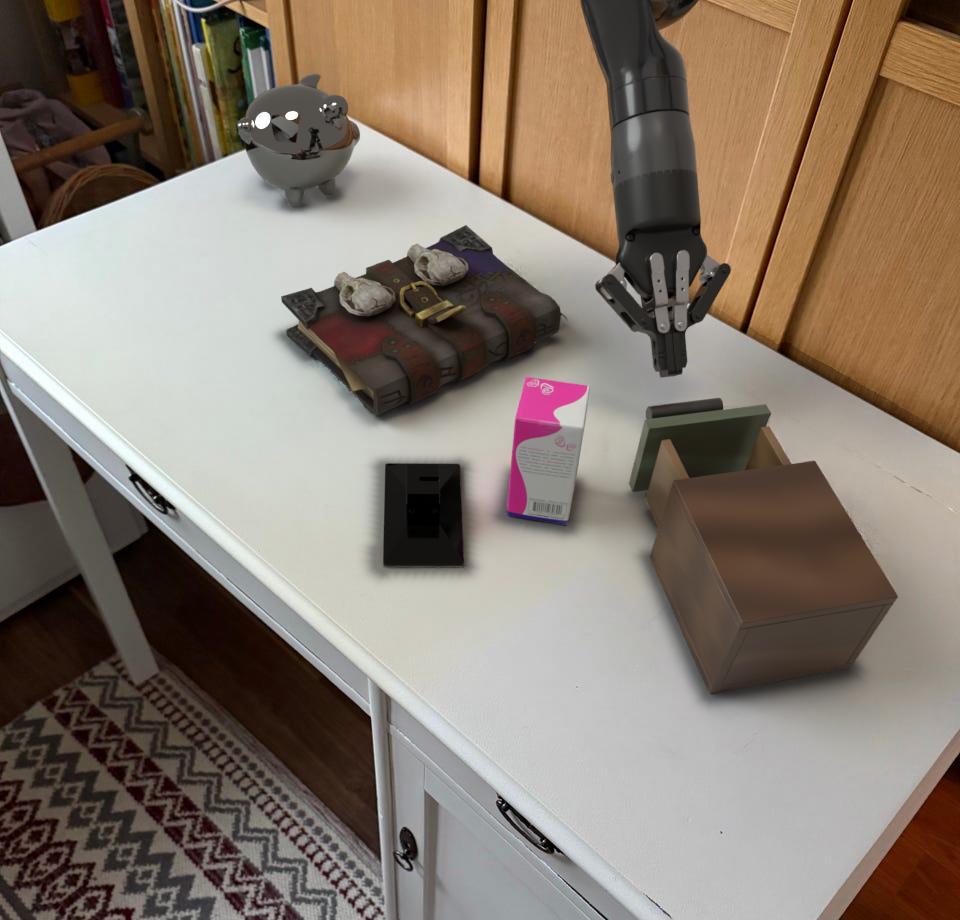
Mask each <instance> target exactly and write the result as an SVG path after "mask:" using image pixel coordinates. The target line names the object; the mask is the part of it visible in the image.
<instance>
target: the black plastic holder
mask: <svg viewBox="0 0 960 920" xmlns="http://www.w3.org/2000/svg"><path fill="white" fill-rule="evenodd" d="M461 480H462V479H461V465H460V464H459V463H417V462H416V463H413V462H412V463H406V462H405V463H402V462H400V463H399V462H398V463H397V462H395V463H394V462H393V463H391V462H388V463H387V462H386V464H385V465H384V499H383V501H384V503H383V504H384V506H383V507H384V508H383V544H381V546H380V549H379V550H380V551H379V553H380V555H379V561H380V563H381V564H382V566H383V567H384V568H463V567H464V564H465V561H464V560H465V557H464V556H465V555H464V532H463V530H464V529H463V509H462V508H463V507H462V483H461V482H462V481H461Z"/></svg>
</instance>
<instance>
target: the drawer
mask: <svg viewBox="0 0 960 920" xmlns="http://www.w3.org/2000/svg"><path fill="white" fill-rule="evenodd" d="M771 415H772V411H771V410H770V409H769V407H768V405H767V404H766V403H765V404H757V405H749V406H741V407H733V408H725V409H724V402H723V399H722V398H721V397H712V398H706V399H698V400H697V399H696V400H691V401H690V400H689V401H680V402H673V403H665V404H657V405H650V406H647V407H646V409H645V419H644V422H643V425H642V429H641V433H640V437H639V441H638V445H637V449H636V453H635V456H634V457H635V458H634V461H633V465H632V468H631V473H630V478H629V481H628V485H629V488H630V489H631V492H632V493H640V492H646V493H647V494H646V496H645V502H646V505H647V506H648V509H649V512H651V515H652V517H653V519H654V522H655V524H656V526H657V528H659V525H660V522H661V518H662V515H663V512H664V509H665V505H666V502H667V499H668V495H669V492H670V489H671V486H672V483H673V481H674V480H679V479H686V478H694V477H701V476H708V475H715V474H722V473H730V472H737V471H744V470H751V469H758V468H766V467H773V466H780V465H787V464H792V462H791V461H790V459H789V457H788V455H787V454H786V452H785V451H784V449H783V447H782V445H781V443H780V441H779V440H778V438H777V437H776V435H775V433H774V432H773V430H772V428H771V427H770V426H769V425H768V423H769V420H770V418H771ZM767 425H768V426H767Z"/></svg>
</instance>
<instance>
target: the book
mask: <svg viewBox="0 0 960 920" xmlns="http://www.w3.org/2000/svg"><path fill="white" fill-rule="evenodd" d="M280 299H281V303H282V304H283V306H285V307H286V308H287V310H288V311H289V312H290V313H291V314H292V315H293V316H294V317H295V318H296V319H297V320H298V323H297V324H296V325H293V326H292V327H289V328H287V329H285V333H286V336H287V337H288V338H289V339H290V340H291V341H292V342H293V343H295V345H297V347H298V348H300V349H301V350H302V351H303V352H304V353H305V354H306V355H308V357H312V356H314V357H315V358H316V359H318V360H319V362H321V363H322V364H323V365H324V366H325V367H326V368H327V369H328V370H329V371H330V372H331V373H332V374H333V375H334V376H335V377H336V378H337V379H338V380H339V381H340V382H341V383H342V384H343V385H344V386H345V387H346V388H347V389H348V390H349V391H350V392H351V393H352V394H353V395H354V396H355V397H356V398H358V400H359V401H360V403H361V404H362V405H363V407H364V408H365V409H366V410H367V411H368V412H369V413H370V414H372V415H373V416H378V415H381V414H383V413H385V412H388V411H390V410H391V409H394V408H396V407H398V406H400V405H403V404H404V405H407V406H410V405H413V404H415V403H417V402H419V401H421V400H423V399H426V398H428V397H430V396H431V395H434V394H436V393H437V392H438V391H439V390H440V389H441V387H442V386H444V385H445V384H449V383H451V382H452V381H455V382H457V383H458V382H460V381H463V380H465V379H466V378H469V377H471V376H473V375H475V374H478V373H480V372H482V371H483V370H484V369H485V368H486V367H487V365H490V364H492V363H494V362H496V361H498V360H502V361H507V360H510V359H511V358H514V357H515V356H518V355H520V354H523V353H524V352H527V351H529V350H531V349H532V348H533V347H534V345H535V343H537V342H540V341H542V340H544V339H546V338H548V337H551V336H553V335H555V334H556V333H558V332H559V331H560V329H561V328H560V327H561V320H562V316H563V317H564V318H565V319H566V321H568V319H567V316H565V314H564V313H562V312H561V308H560V305H559V304H558V303H557V301H556V300H555V299H554V298H553V297H551V296H550V295H549V294H546V293H543V292H541V291H540V290H539V289H537V288H536V287H535V286H534V285H532V284H531V283H529V282H528V281H527V280H526V279H524V278H523V277H522V276H521V275H520V274H518V273H517V272H515V271H514V270H513V269H512V268H511V267H510V266H508V265H507V264H506V263H504V262H503V261H502V260H501V259H499V258H498V257H497V255H495V254H494V252H493V247H492V246H491V245H490V244H488V242H486V240H484V239H483V238H482V237H480V235H478V234H477V233H476V232H475V231H473V230H472V229H471V228H470V227H469V226H468V225H466V224H465V225H463V226H461V227H459V228H457V229H455V230H453V231H451V232H449V233H447V234H445V235H443V236H441V237H439V240H438V241H437V242H436V243H434V244H431V245H429V246H427V247H424V246H421V244H419V243H415V244H412V245H411V246H410V247H409V249H408V250H407V252H406V256H404V257H402V258H400V259H398V260H396V261H393V262H392V261H391V260H390V259H386V260H382V261H381V262H379V263H375V264H373V265H370V266H368V267H365V274H364V273H363V274H361V275H358V276H356V277H354V276H352V275H350V274H348V273H347V272H346V271H342V272H340V273H337V276H335V278H334V281H333V286H331V287H328V288H325V289H323V290H321V291H315V290H314V289H313V287H309V288H305V289H302V290H299V291H295V292H291V293H288V294H285V295H282V296H280Z"/></svg>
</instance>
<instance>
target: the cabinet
mask: <svg viewBox="0 0 960 920" xmlns="http://www.w3.org/2000/svg"><path fill="white" fill-rule="evenodd" d="M657 528H658V527H657ZM649 559H650V561H651V563H652V565H653V568H654V570H655V572H656V575H657V578H658V579H659V582H660V584H661V586H662V589H663V591H664V593H665V596H666V598H667V600H668V602H669V604H670V607H671V609H672V611H673V613H674V616H675V618H676V621H677V623H678V625H679V627H680V630H681V632H682V634H683V636H684V639H685V641H686V643H687V646H688V648H689V651H690V653H691V655H692V657H693V659H694V661H695V664H696V666H697V668H698V671H699V673H700V676H701V679H702V680H703V682H704V684H705V687H706V689H707V691H708V694H715V693H720V692H725V691H732V690H736V689H741V688H747V687H752V686H759V685H763V684H769V683H774V682H780V681H785V680H791V679H796V678H803V677H807V676H813V675H818V674H825V673H829V672H836V671H841V670H846V669H851V668H852V667H853V665H854V664H855V662H856V661H857V659H858V657H859V656H860V655H861V653H862V652H863V650H864V649H865V647H866V645H867V644H868V643H869V641H870V640H871V638H872V637H873V636H874V634H875V633H876V631H877V630H878V628H879V627H880V625H881V624H882V622H883V621H884V619H885V617H886V616H887V614H888V613H889V611H890V610H891V609H892V607H893V605H894V603H896V601H897V600H898V598H899V595H898V593H897V592H896V590H895V588H894V587H893V586H892V584H891V582H890V581H889V579H888V577H887V576H886V574H885V572H884V571H883V569H882V568H881V566H880V563H878V561H877V559H876V558H875V556H874V555H873V553H872V551H871V550H870V547H868V545H867V543H866V541H865V540H864V539H863V536H862V535H861V533H860V532H859V530H858V527H856V525H855V523H854V522H853V520H852V518H851V517H850V515H849V513H848V512H847V511H846V508H845V507H844V505H843V504H842V502H841V501H840V499H839V497H838V495H837V494H836V493H835V490H834V489H833V488H832V486H831V485H830V483H829V481H828V479H827V477H826V476H825V474H824V473H823V471H822V470H821V468H820V466H819V465H818V463H817V461H816V460H810V461H803V462H794V463H791V464H787V465H780V466H773V467H766V468H758V469H751V470H744V471H737V472H730V473H722V474H715V475H708V476H701V477H694V478H686V479H679V480H674V481H673V483H672V486H671V489H670V492H669V495H668V499H667V502H666V505H665V509H664V512H663V515H662V518H661V522H660V525H659V528H658V529H657V532H656V535H655V539H654V542H653V545H652V547H651V551H650V555H649Z"/></svg>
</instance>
